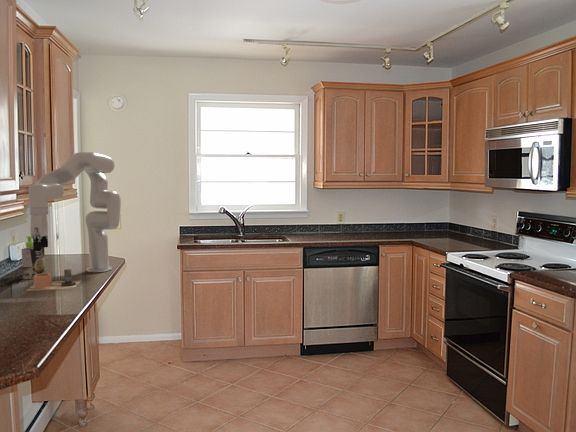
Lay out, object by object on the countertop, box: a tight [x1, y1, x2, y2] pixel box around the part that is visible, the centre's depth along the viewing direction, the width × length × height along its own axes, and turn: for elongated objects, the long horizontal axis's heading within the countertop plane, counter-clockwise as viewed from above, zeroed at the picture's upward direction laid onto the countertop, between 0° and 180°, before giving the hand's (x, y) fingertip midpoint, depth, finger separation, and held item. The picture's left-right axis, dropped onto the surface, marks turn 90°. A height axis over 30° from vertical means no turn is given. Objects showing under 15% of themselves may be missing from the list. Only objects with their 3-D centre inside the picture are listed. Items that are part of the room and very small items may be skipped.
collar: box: [33, 272, 53, 288], centre depth 240 cm, size 7×7×5 cm
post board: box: [25, 268, 82, 292], centre depth 241 cm, size 16×20×8 cm
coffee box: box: [21, 247, 46, 280], centre depth 258 cm, size 9×6×16 cm
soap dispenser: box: [25, 235, 33, 248], centre depth 269 cm, size 6×7×20 cm
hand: (41, 249), depth 239 cm, fingers open, 9 cm apart
